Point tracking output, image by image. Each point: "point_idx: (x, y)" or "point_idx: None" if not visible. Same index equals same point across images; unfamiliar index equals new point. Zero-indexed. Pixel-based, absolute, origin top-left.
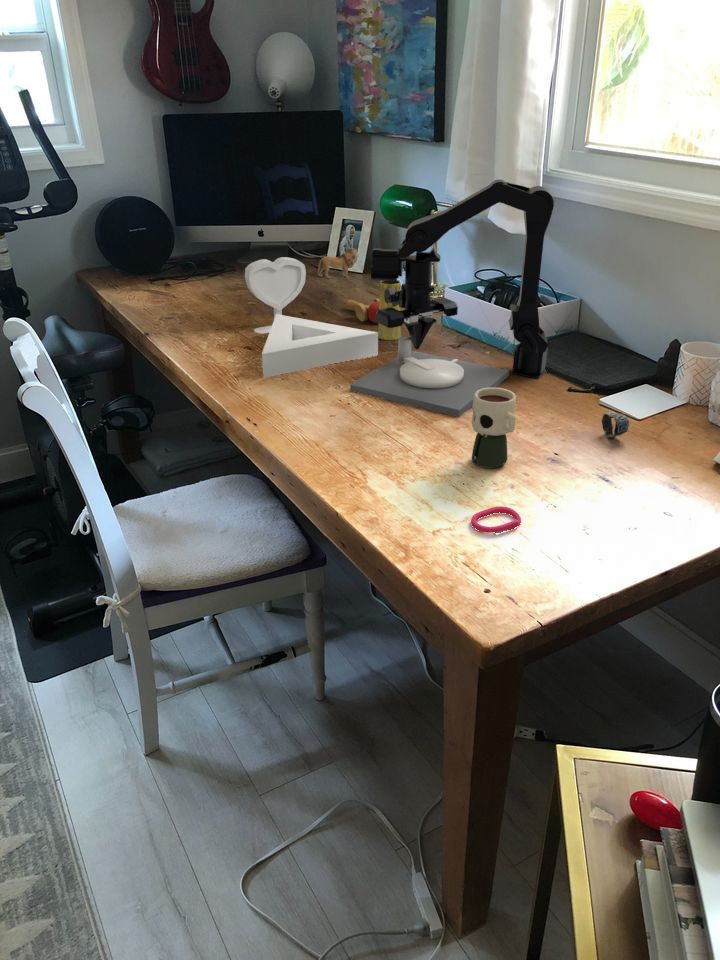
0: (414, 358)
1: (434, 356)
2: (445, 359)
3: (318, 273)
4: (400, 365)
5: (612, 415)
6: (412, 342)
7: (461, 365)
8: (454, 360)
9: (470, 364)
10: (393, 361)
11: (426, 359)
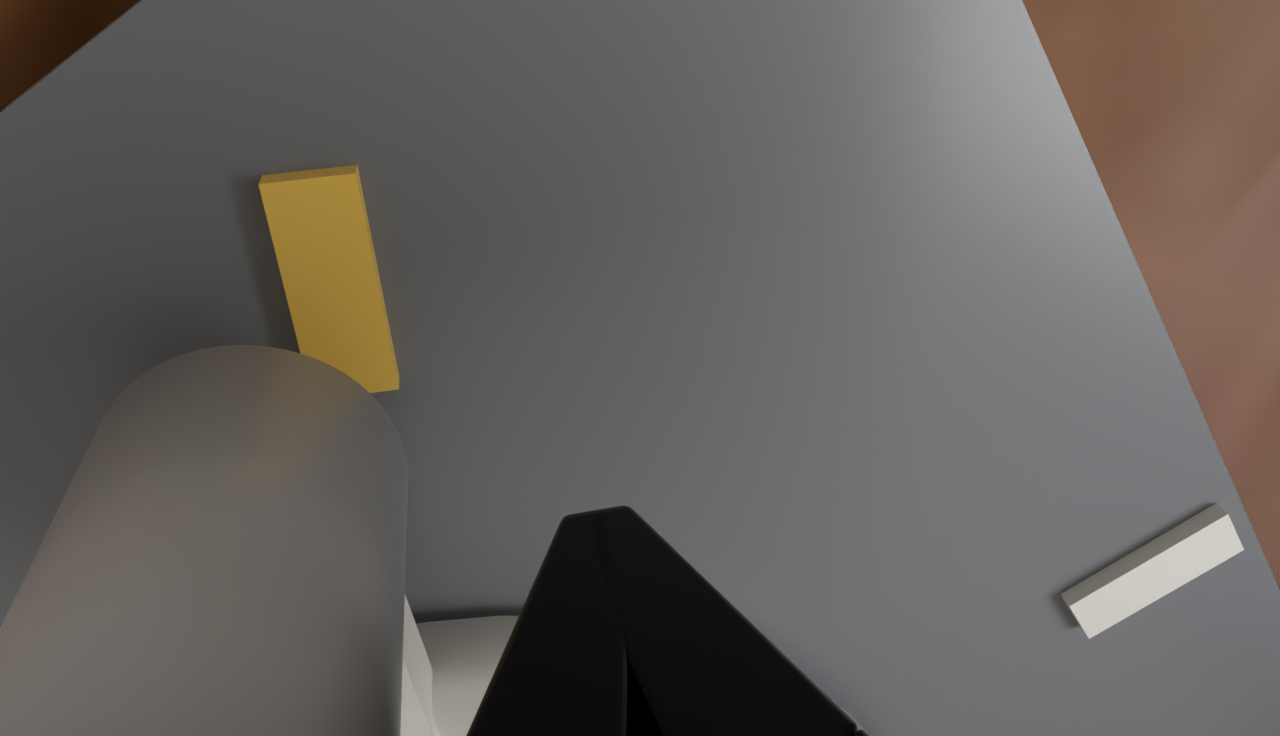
0: (401, 722)
1: (1047, 249)
2: (1102, 449)
3: None
4: None
5: None
6: (519, 625)
7: (1112, 714)
8: (1161, 575)
9: (1240, 708)
10: (57, 209)
11: None
